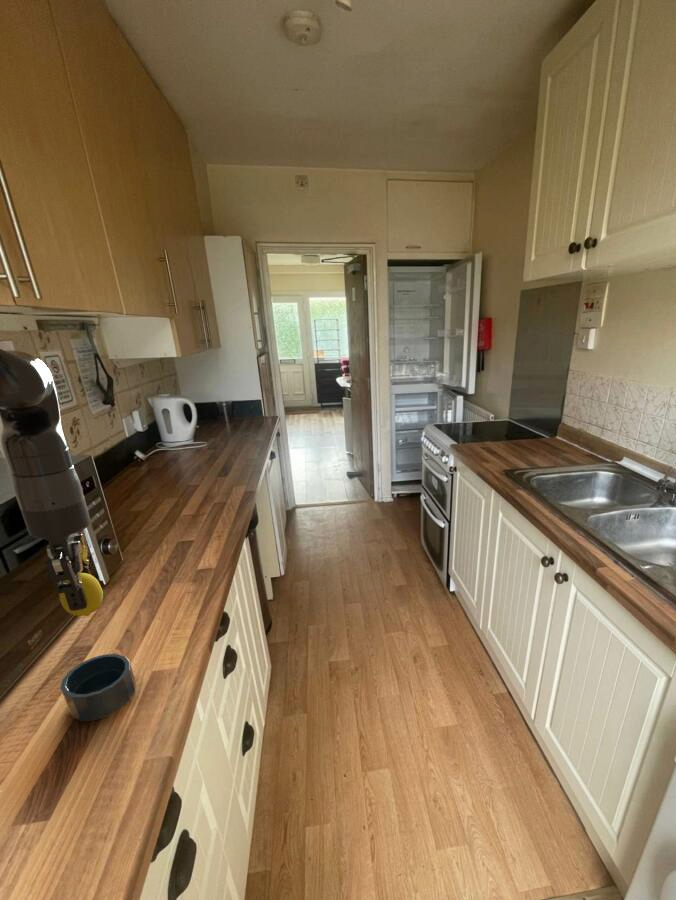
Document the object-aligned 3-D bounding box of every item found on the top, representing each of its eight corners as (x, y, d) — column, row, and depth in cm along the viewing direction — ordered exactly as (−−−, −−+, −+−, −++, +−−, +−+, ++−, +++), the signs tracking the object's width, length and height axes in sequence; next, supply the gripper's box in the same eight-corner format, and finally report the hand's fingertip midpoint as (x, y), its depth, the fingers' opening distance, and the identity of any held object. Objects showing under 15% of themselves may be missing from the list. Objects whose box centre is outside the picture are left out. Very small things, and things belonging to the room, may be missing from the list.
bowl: (56, 724, 66) (46, 698, 64) (91, 678, 75) (83, 654, 73) (118, 722, 67) (110, 696, 65) (146, 677, 76) (140, 653, 73)
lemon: (58, 624, 67) (43, 580, 64) (86, 603, 72) (74, 562, 69) (89, 628, 66) (76, 584, 63) (115, 607, 71) (104, 566, 68)
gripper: (74, 513, 57) (104, 617, 63) (90, 480, 69) (114, 571, 75) (3, 522, 54) (43, 630, 60) (32, 486, 66) (63, 580, 72)
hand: (82, 597), depth 68 cm, fingers closed on lemon, 5 cm apart
